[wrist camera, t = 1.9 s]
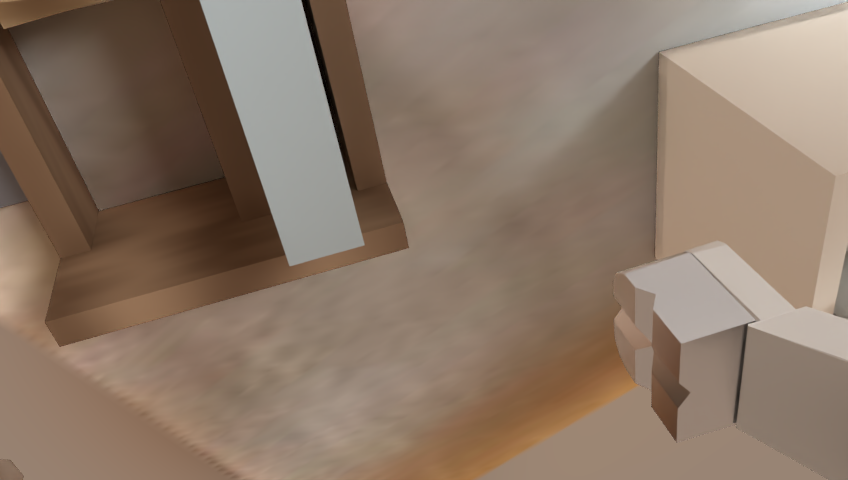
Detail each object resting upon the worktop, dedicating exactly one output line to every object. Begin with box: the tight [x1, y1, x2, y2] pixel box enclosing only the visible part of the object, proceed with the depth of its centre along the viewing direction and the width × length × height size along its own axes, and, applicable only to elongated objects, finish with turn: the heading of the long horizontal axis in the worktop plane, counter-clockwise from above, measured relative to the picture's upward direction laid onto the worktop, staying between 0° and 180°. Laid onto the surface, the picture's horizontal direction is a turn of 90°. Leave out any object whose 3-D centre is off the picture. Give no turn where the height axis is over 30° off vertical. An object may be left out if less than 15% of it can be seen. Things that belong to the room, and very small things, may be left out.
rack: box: [0, 0, 409, 347], centre depth 25 cm, size 13×19×7 cm
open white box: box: [655, 2, 848, 319], centre depth 34 cm, size 12×12×12 cm
